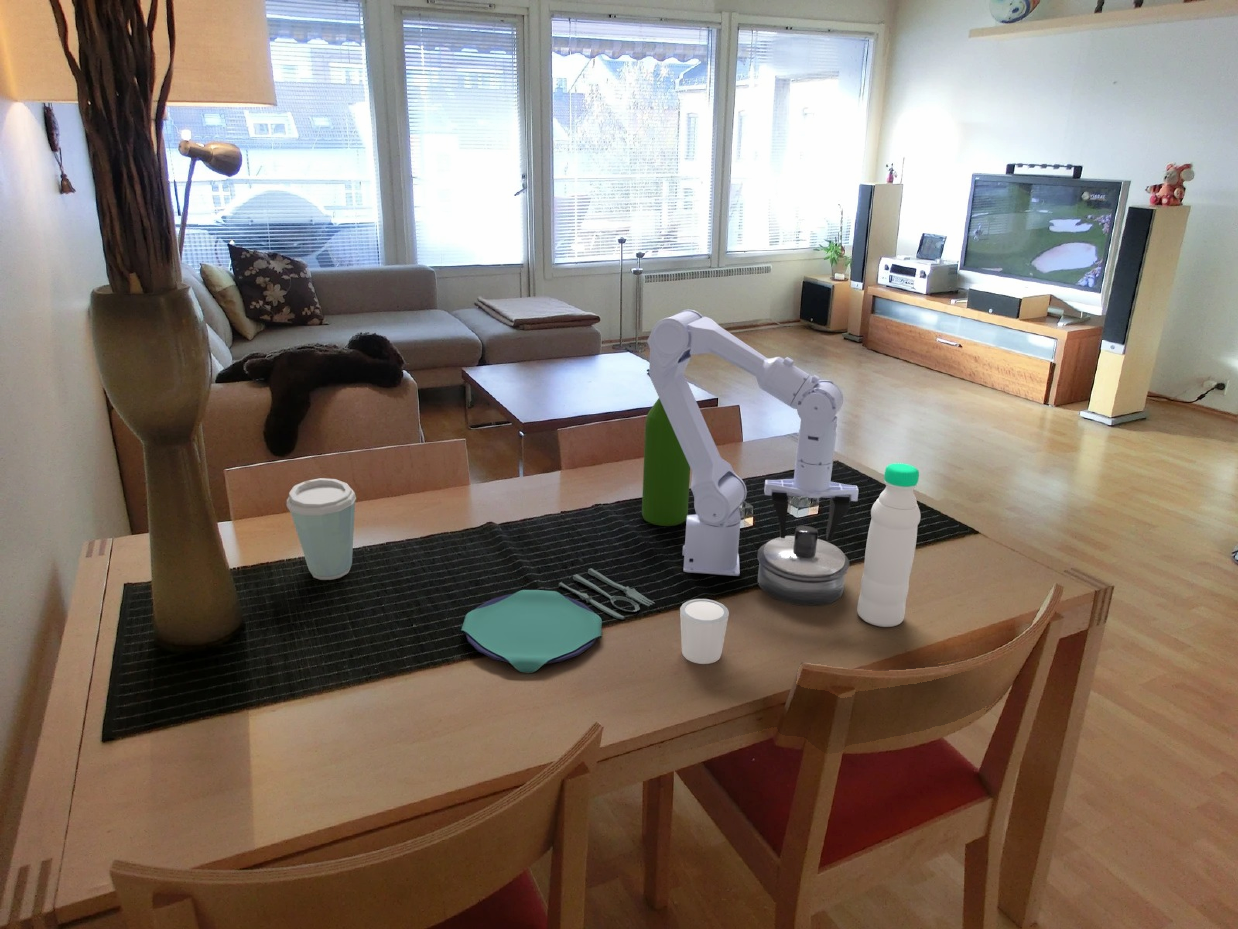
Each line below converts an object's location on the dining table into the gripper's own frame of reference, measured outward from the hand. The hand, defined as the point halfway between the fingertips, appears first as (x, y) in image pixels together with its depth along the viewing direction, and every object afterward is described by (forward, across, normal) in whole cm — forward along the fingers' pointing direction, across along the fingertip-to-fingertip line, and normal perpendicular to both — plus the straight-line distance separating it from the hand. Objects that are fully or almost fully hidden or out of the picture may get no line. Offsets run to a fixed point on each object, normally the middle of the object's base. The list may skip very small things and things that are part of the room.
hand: (805, 537), depth 139 cm
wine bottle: (+9, -24, +24) cm, 35 cm away
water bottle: (+9, +12, -9) cm, 17 cm away
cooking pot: (+9, 0, 0) cm, 9 cm away
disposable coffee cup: (+9, -78, -8) cm, 79 cm away
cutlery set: (+9, -38, -18) cm, 43 cm away
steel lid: (+4, 0, -1) cm, 4 cm away
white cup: (+9, -16, -23) cm, 29 cm away
